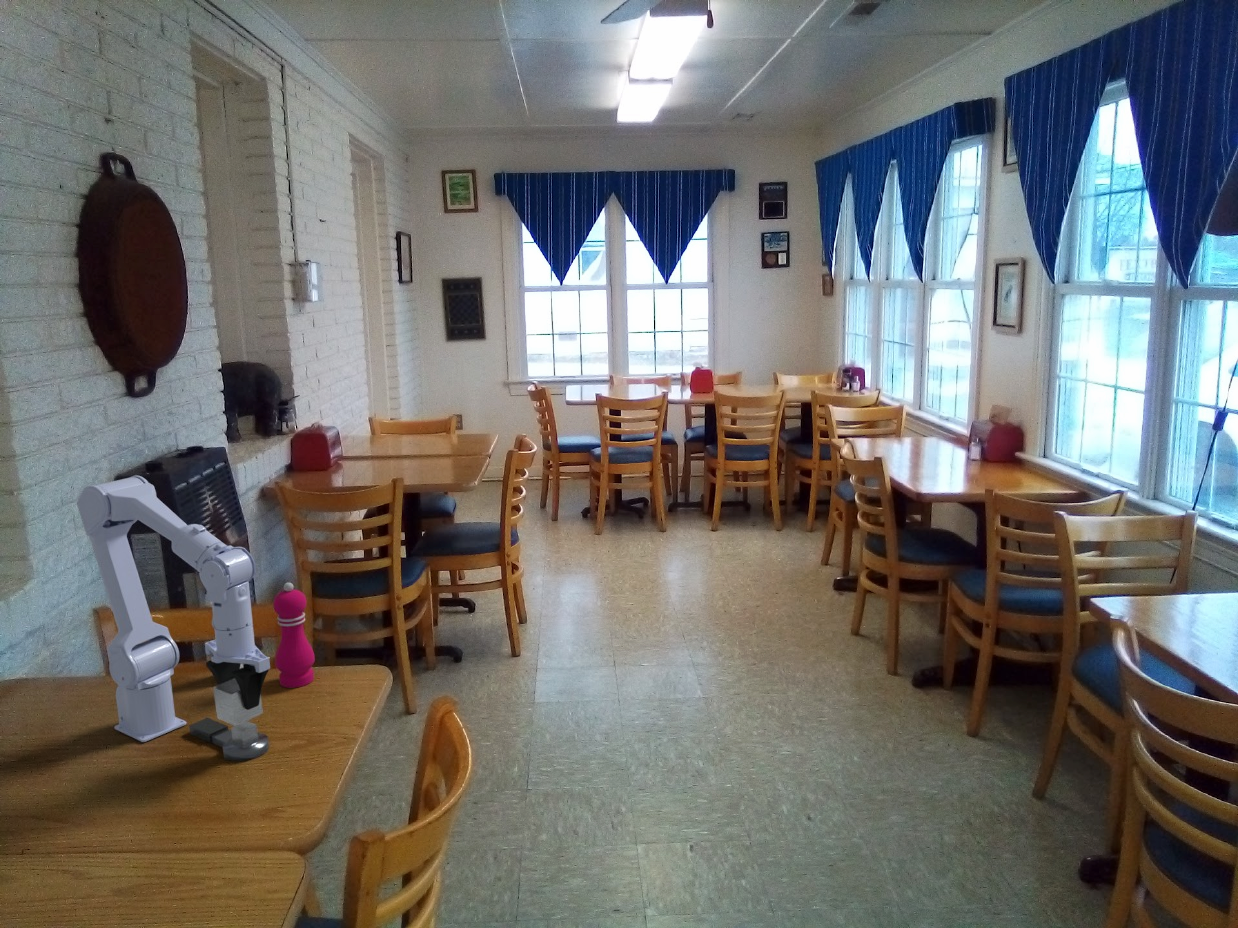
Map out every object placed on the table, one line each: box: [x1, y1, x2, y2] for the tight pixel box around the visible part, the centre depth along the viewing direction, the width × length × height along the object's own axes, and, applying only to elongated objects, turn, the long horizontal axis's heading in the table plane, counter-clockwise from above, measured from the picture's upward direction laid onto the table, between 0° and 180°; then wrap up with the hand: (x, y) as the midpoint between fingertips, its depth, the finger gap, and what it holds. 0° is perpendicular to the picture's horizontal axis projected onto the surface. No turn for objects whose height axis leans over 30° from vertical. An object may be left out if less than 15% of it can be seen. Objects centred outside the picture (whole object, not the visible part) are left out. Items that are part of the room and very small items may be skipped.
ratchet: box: [188, 717, 270, 762], centre depth 155 cm, size 17×7×4 cm, turn 56°
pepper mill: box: [272, 582, 316, 689], centre depth 178 cm, size 7×7×20 cm
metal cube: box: [212, 678, 264, 726], centre depth 151 cm, size 5×5×6 cm
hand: (241, 702), depth 151 cm, fingers closed on metal cube, 5 cm apart
